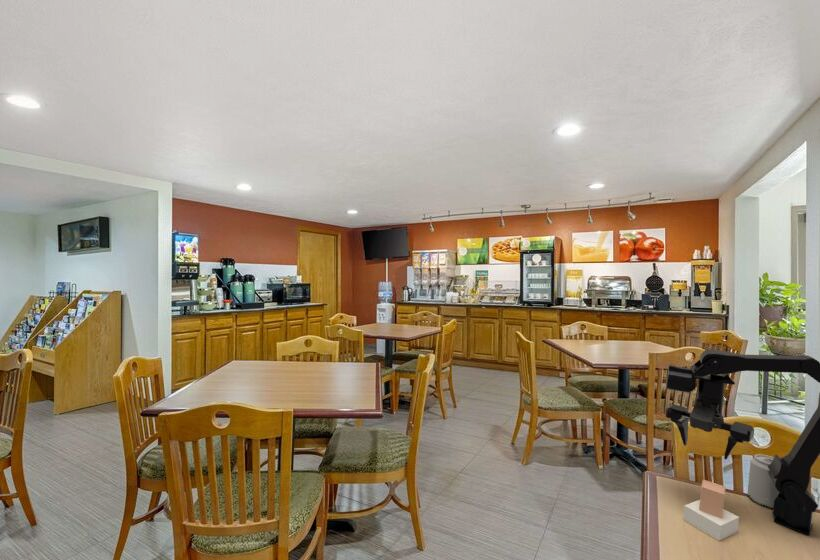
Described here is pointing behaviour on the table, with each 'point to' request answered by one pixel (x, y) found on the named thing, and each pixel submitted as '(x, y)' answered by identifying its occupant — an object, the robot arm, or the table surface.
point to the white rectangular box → (711, 521)
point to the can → (761, 481)
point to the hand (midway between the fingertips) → (704, 451)
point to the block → (712, 498)
